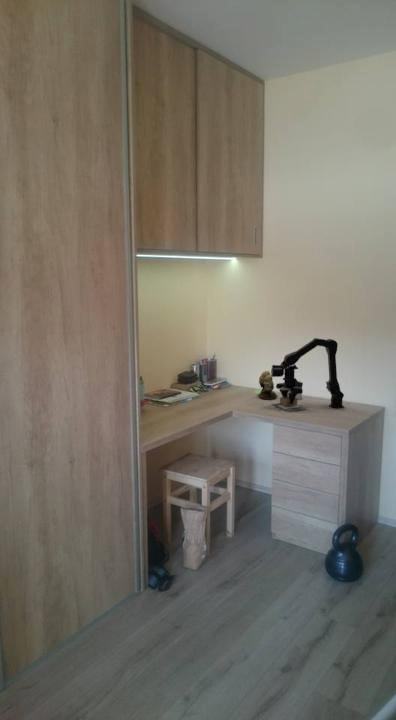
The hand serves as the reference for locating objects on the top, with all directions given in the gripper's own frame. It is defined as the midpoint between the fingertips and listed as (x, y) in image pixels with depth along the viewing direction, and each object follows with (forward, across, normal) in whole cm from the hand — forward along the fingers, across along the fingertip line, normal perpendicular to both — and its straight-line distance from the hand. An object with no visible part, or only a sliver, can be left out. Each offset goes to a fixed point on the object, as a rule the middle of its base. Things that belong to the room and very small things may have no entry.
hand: (288, 402), depth 305 cm
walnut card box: (+1, 0, 0) cm, 1 cm away
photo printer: (+3, +16, -15) cm, 22 cm away
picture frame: (+3, 0, 0) cm, 3 cm away
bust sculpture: (+3, +27, -3) cm, 27 cm away
